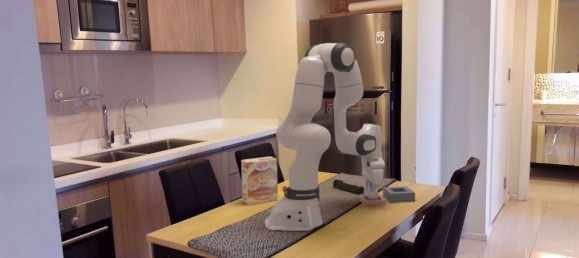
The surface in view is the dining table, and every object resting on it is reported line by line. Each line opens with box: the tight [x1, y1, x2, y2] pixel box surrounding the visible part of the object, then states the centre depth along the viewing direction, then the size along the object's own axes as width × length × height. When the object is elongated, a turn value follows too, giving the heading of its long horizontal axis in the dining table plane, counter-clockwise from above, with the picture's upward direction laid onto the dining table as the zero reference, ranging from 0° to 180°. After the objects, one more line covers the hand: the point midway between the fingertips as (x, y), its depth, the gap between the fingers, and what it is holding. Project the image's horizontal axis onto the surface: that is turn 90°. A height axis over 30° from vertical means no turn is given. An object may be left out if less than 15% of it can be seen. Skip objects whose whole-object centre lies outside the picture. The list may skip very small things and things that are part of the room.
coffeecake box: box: [240, 155, 279, 206], centre depth 199 cm, size 15×7×20 cm, turn 118°
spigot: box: [365, 179, 379, 200], centre depth 192 cm, size 4×4×8 cm
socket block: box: [382, 185, 416, 204], centre depth 197 cm, size 11×11×4 cm
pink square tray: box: [358, 193, 387, 207], centre depth 193 cm, size 10×10×2 cm
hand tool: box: [332, 178, 365, 195], centre depth 213 cm, size 19×4×5 cm, turn 37°
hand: (371, 191), depth 192 cm, fingers closed on spigot, 4 cm apart
